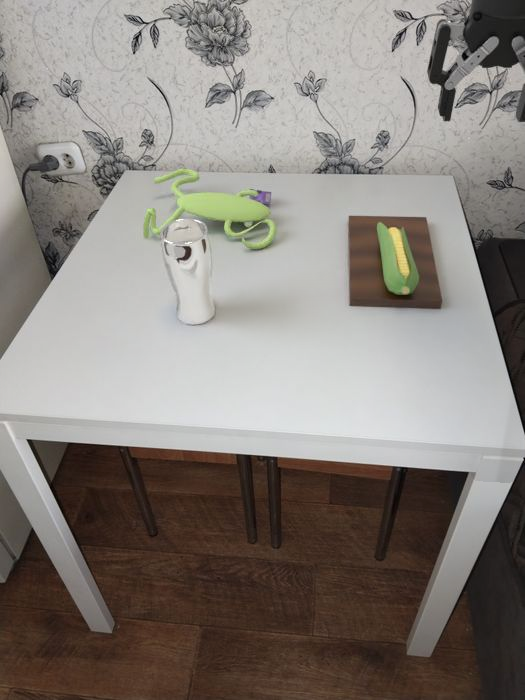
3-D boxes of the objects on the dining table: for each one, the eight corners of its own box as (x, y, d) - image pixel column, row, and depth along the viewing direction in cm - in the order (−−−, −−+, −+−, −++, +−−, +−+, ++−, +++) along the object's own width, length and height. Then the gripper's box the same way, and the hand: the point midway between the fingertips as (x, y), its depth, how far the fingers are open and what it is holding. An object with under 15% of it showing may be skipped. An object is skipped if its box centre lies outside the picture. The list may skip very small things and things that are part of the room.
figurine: (165, 188, 121) (161, 162, 117) (292, 201, 116) (292, 174, 112) (129, 237, 108) (122, 210, 105) (269, 254, 103) (268, 227, 99)
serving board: (440, 308, 91) (442, 301, 90) (349, 305, 92) (350, 298, 91) (425, 224, 108) (426, 216, 107) (348, 222, 109) (348, 215, 108)
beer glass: (216, 326, 90) (206, 244, 80) (171, 327, 90) (155, 245, 80) (219, 297, 95) (210, 216, 84) (176, 298, 95) (162, 217, 85)
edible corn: (386, 304, 90) (389, 280, 87) (372, 231, 104) (375, 208, 101) (420, 303, 90) (424, 279, 87) (402, 231, 104) (405, 208, 101)
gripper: (451, -33, 56) (424, 132, 67) (607, -36, 55) (553, 133, 66) (441, -50, 62) (418, 106, 73) (584, -53, 60) (538, 106, 72)
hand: (482, 119), depth 69 cm, fingers open, 8 cm apart
